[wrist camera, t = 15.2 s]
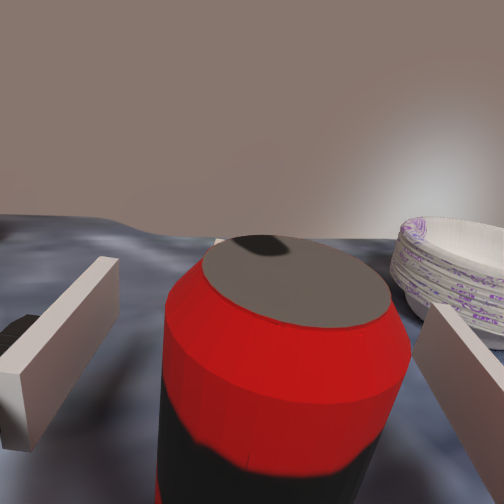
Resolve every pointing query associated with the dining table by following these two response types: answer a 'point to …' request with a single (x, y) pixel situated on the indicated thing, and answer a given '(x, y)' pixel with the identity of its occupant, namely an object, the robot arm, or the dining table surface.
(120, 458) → the dining table surface
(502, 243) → the paper bowls
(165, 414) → the soda can
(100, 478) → the dining table surface
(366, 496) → the dining table surface
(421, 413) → the dining table surface
